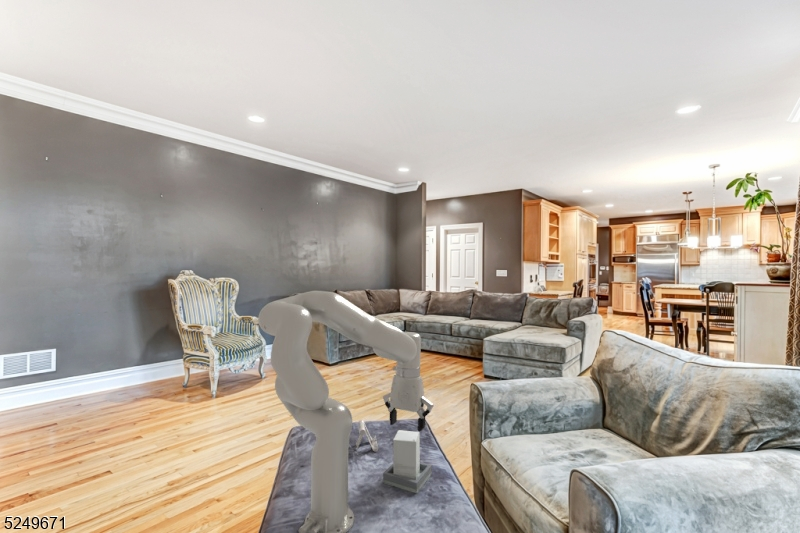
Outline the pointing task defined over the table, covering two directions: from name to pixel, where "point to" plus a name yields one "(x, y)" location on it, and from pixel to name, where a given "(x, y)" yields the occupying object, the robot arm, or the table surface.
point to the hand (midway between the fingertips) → (406, 426)
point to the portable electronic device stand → (363, 431)
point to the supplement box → (406, 454)
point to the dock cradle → (408, 483)
